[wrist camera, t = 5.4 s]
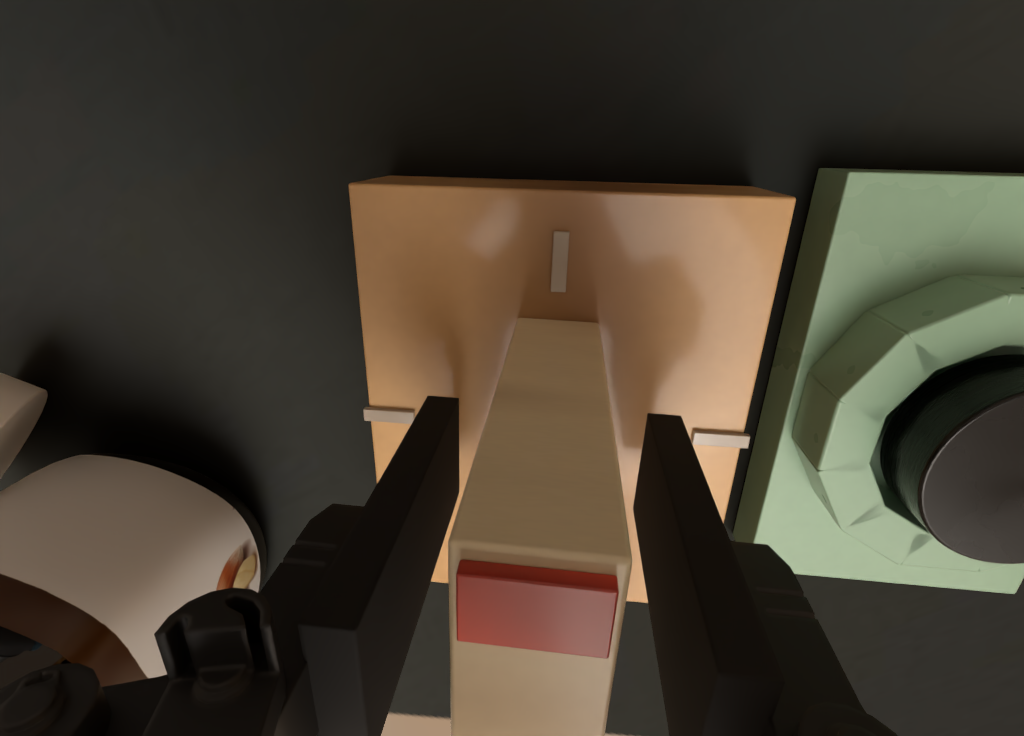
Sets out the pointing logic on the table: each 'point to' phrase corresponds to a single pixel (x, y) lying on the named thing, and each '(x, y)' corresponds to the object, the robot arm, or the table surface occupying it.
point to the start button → (964, 458)
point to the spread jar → (108, 552)
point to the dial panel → (569, 304)
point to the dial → (540, 546)
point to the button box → (880, 365)
